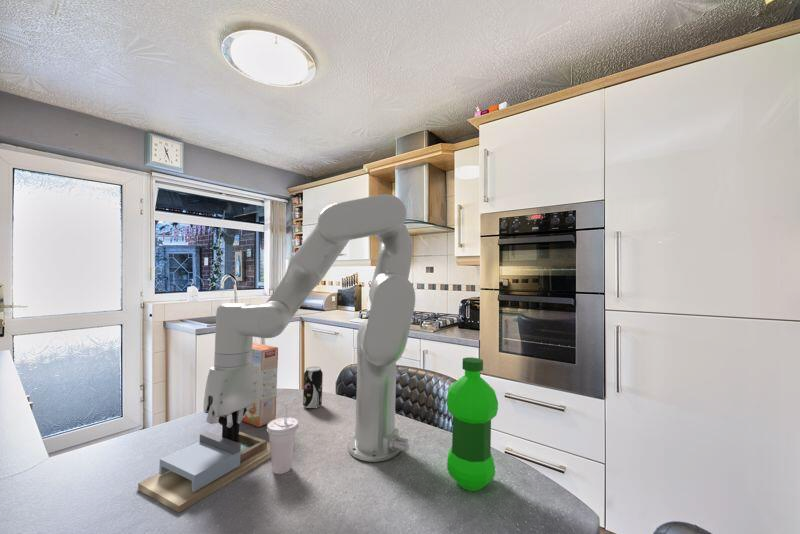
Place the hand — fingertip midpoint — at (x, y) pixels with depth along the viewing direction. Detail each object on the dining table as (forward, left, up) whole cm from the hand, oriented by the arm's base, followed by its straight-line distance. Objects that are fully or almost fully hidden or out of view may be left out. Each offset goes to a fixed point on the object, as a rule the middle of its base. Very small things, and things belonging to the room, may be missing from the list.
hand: (230, 442), depth 74 cm
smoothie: (-12, -3, -4) cm, 13 cm away
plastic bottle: (-49, -18, -4) cm, 53 cm away
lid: (0, +7, -3) cm, 7 cm away
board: (0, +3, -4) cm, 5 cm away
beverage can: (+5, -32, -4) cm, 33 cm away
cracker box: (+14, -17, -4) cm, 23 cm away
